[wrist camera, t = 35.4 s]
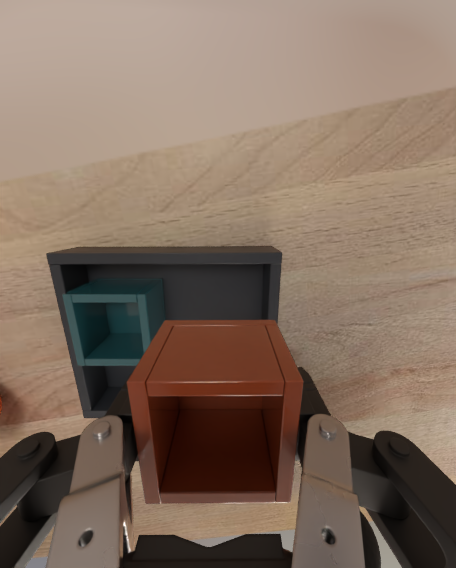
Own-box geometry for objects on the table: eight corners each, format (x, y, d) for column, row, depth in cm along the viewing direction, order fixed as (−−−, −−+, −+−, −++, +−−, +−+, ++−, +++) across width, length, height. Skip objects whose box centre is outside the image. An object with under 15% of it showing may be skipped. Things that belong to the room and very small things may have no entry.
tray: (77, 246, 19) (45, 253, 16) (272, 246, 19) (282, 252, 16) (104, 388, 24) (83, 418, 20) (265, 387, 24) (271, 417, 20)
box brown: (164, 319, 11) (126, 381, 7) (275, 319, 11) (304, 381, 7) (172, 409, 13) (144, 504, 9) (269, 408, 13) (291, 503, 9)
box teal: (98, 277, 20) (61, 294, 15) (163, 277, 20) (145, 294, 15) (107, 335, 21) (77, 366, 17) (168, 335, 21) (152, 366, 17)
